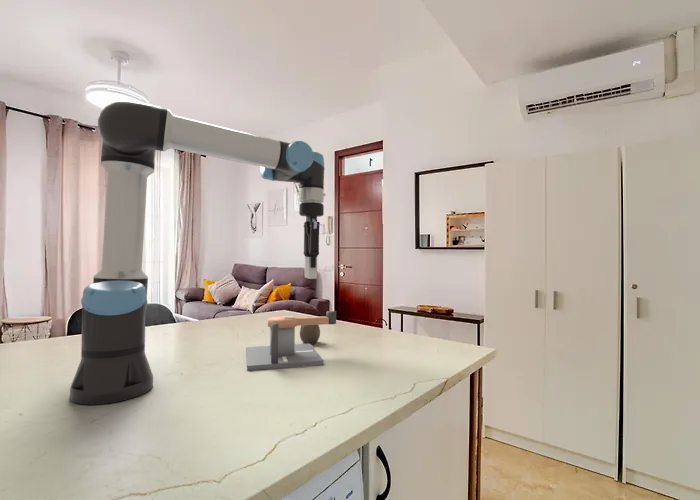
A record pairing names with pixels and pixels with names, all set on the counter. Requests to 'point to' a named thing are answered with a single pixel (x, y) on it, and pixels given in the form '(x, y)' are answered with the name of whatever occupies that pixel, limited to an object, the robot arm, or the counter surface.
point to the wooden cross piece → (302, 320)
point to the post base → (293, 361)
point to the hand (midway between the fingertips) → (310, 277)
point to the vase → (309, 334)
